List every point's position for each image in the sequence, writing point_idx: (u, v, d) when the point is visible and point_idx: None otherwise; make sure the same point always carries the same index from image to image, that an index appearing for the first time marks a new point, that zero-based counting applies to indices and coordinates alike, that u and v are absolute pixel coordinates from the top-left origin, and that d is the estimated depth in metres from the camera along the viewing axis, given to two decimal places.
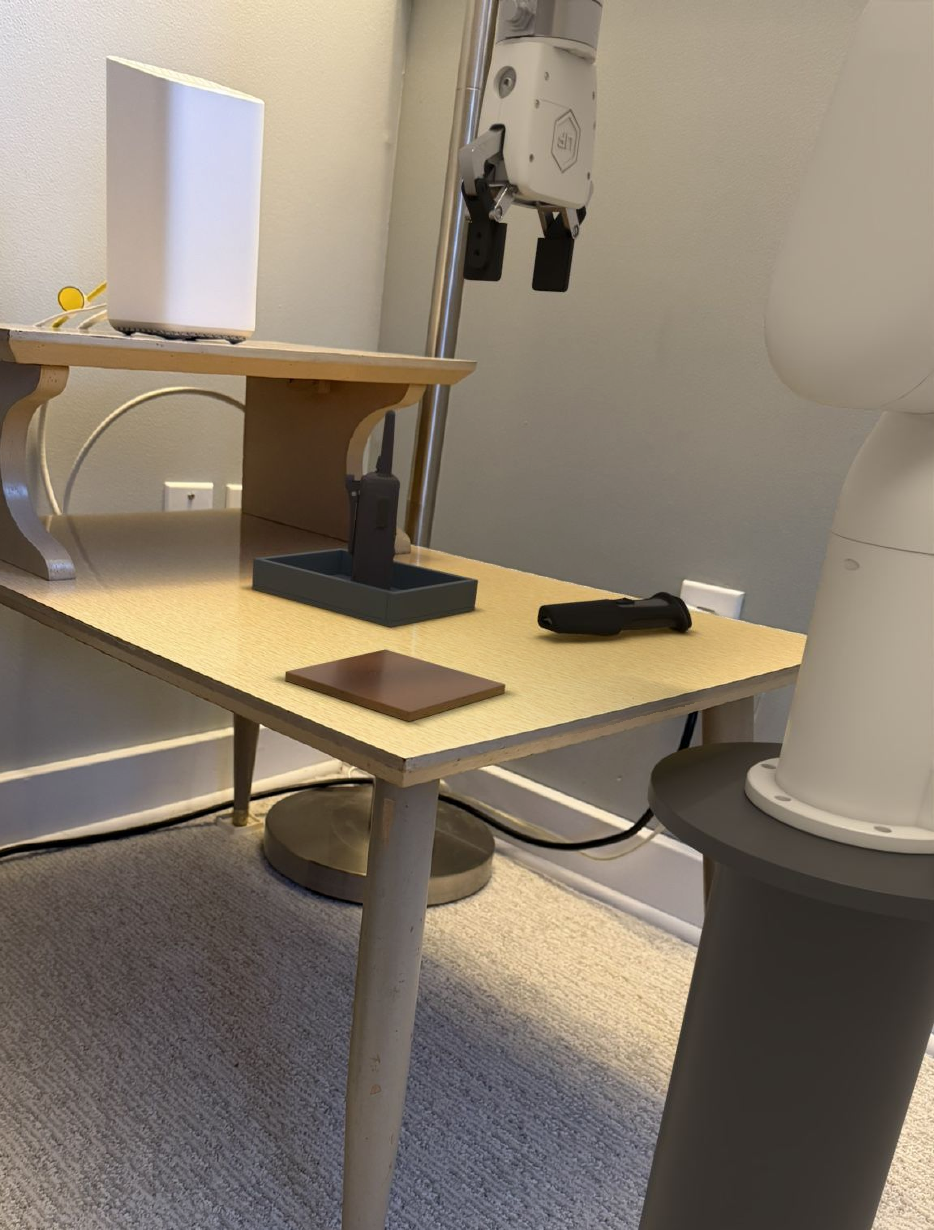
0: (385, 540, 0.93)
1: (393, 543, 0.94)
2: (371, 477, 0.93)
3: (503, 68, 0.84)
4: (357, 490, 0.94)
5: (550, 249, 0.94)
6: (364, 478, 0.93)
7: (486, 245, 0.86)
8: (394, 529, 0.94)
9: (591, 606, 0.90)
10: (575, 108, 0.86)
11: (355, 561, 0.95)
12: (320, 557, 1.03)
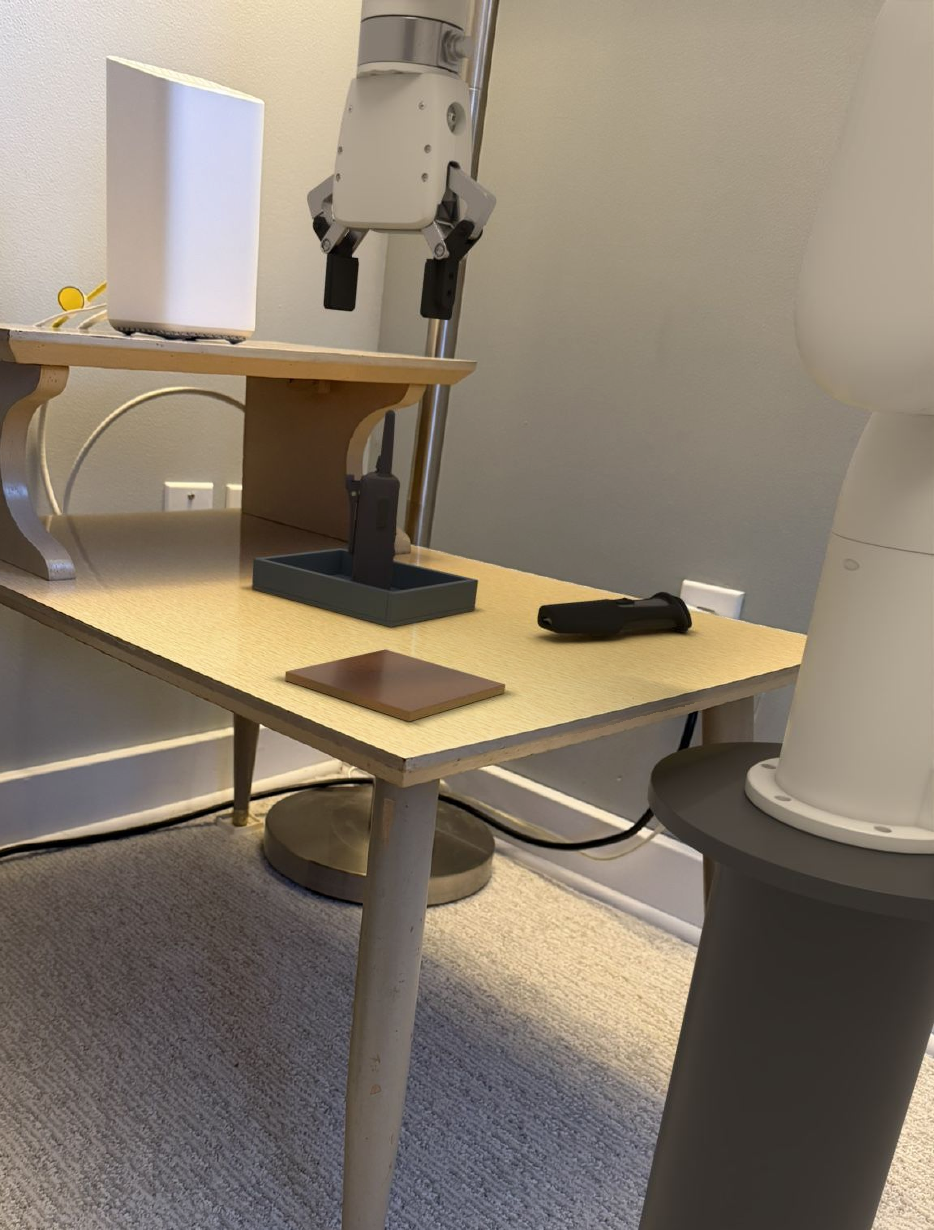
0: (385, 540, 0.93)
1: (393, 543, 0.94)
2: (371, 477, 0.93)
3: (450, 102, 0.82)
4: (357, 490, 0.94)
5: (345, 268, 0.91)
6: (364, 478, 0.93)
7: None
8: (394, 529, 0.94)
9: (591, 606, 0.90)
10: None
11: (355, 561, 0.95)
12: (320, 557, 1.03)
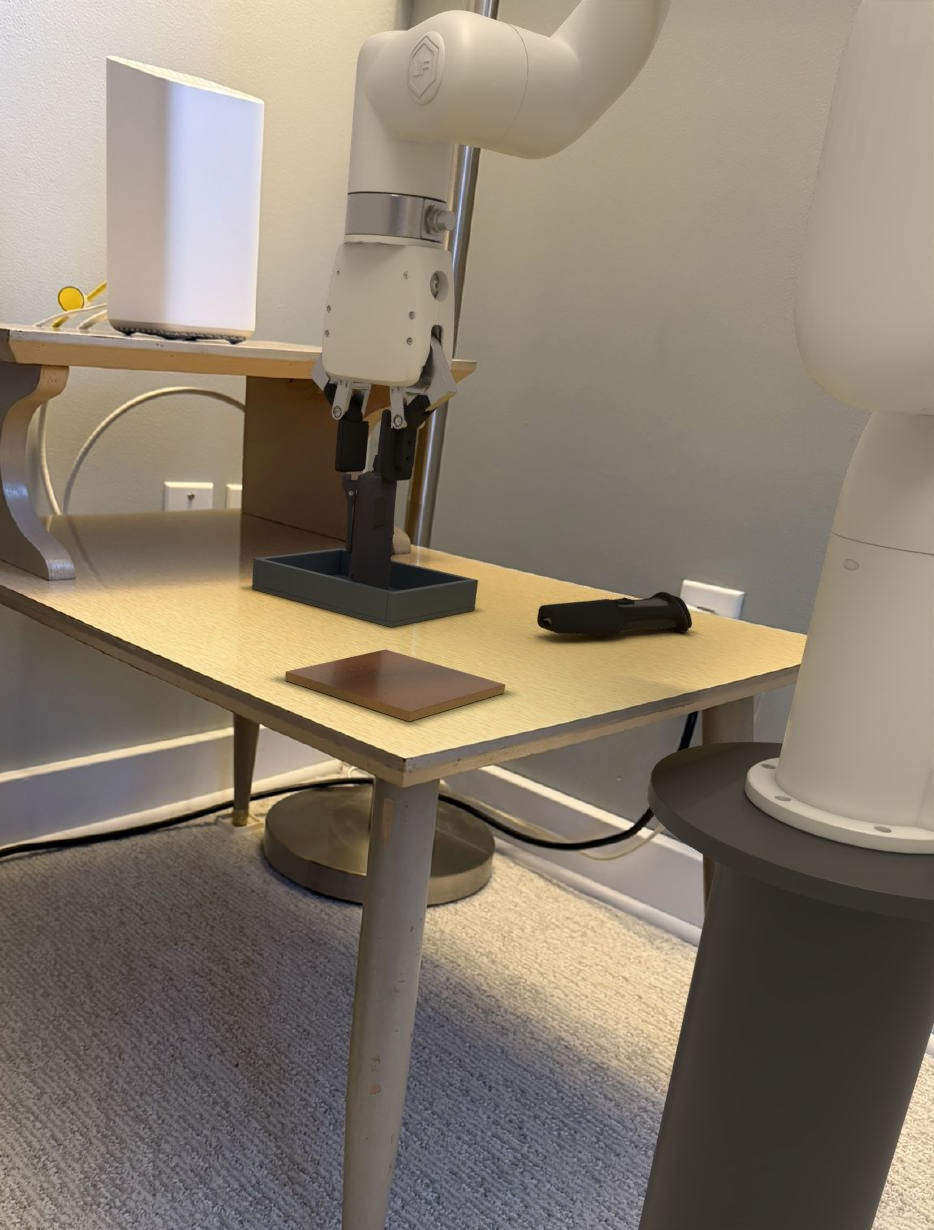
0: (383, 539, 0.94)
1: (391, 542, 0.94)
2: (368, 476, 0.93)
3: (433, 271, 0.86)
4: (354, 489, 0.94)
5: (356, 433, 0.94)
6: (361, 477, 0.93)
7: (414, 451, 0.92)
8: (391, 528, 0.94)
9: (591, 606, 0.90)
10: None
11: (353, 560, 0.95)
12: (320, 557, 1.03)
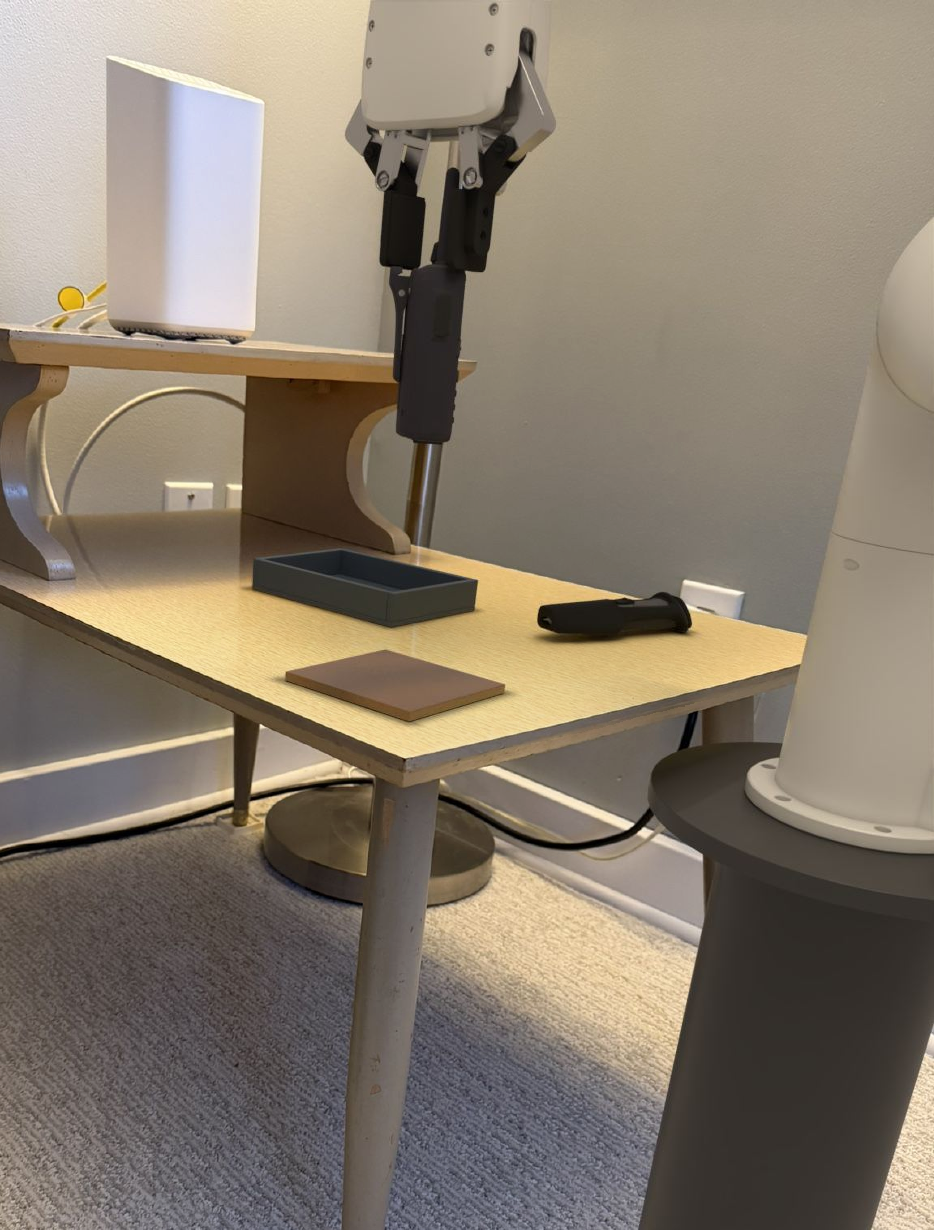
0: (446, 356, 0.68)
1: (456, 361, 0.68)
2: (426, 266, 0.67)
3: None
4: (406, 288, 0.68)
5: (408, 210, 0.68)
6: (416, 269, 0.67)
7: None
8: (458, 341, 0.68)
9: (591, 606, 0.90)
10: None
11: (404, 389, 0.69)
12: (320, 557, 1.03)
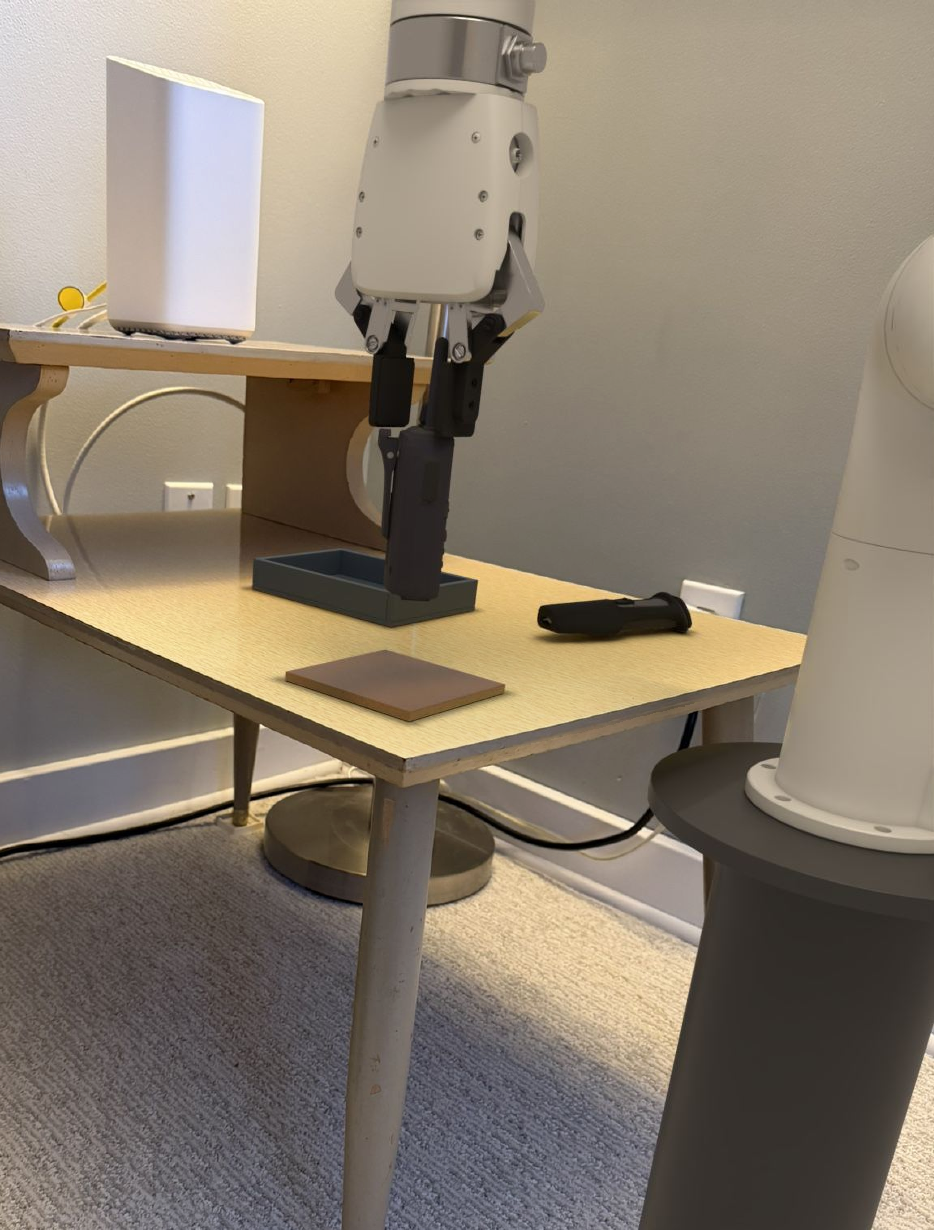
0: (434, 519, 0.68)
1: (445, 523, 0.69)
2: (415, 431, 0.67)
3: (513, 133, 0.60)
4: (395, 450, 0.68)
5: (397, 372, 0.68)
6: (405, 433, 0.68)
7: (480, 395, 0.66)
8: (446, 503, 0.68)
9: (591, 606, 0.90)
10: None
11: (392, 548, 0.69)
12: (320, 557, 1.03)
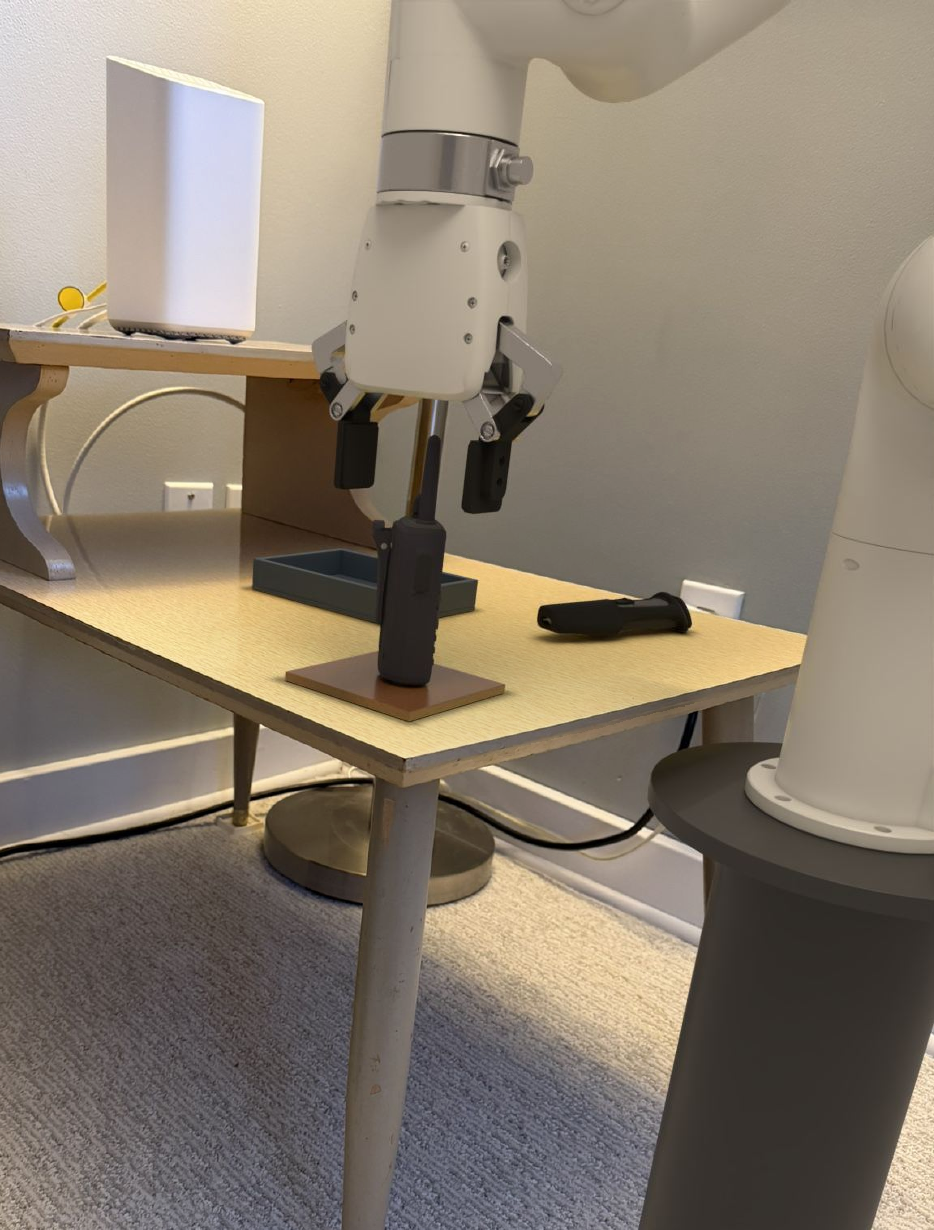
0: (426, 609, 0.70)
1: (436, 612, 0.70)
2: (408, 525, 0.69)
3: (501, 241, 0.62)
4: (388, 541, 0.70)
5: (361, 437, 0.71)
6: (398, 526, 0.69)
7: None
8: (438, 593, 0.70)
9: (591, 607, 0.90)
10: None
11: (386, 635, 0.71)
12: (320, 557, 1.03)
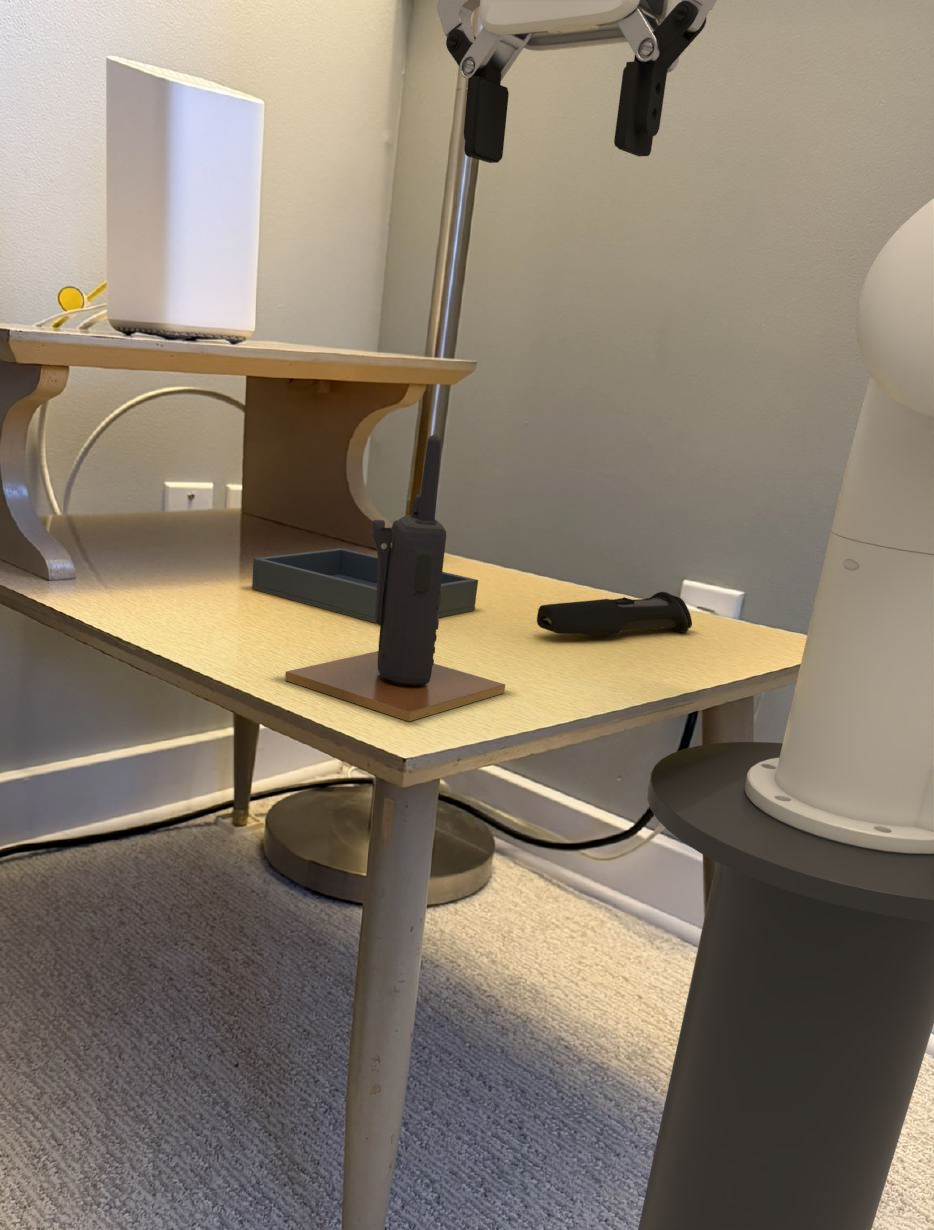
0: (426, 609, 0.70)
1: (436, 612, 0.70)
2: (408, 525, 0.69)
3: None
4: (388, 541, 0.70)
5: (493, 98, 0.67)
6: (398, 526, 0.69)
7: (662, 105, 0.62)
8: (438, 593, 0.70)
9: (591, 606, 0.90)
10: None
11: (386, 635, 0.71)
12: (320, 557, 1.03)
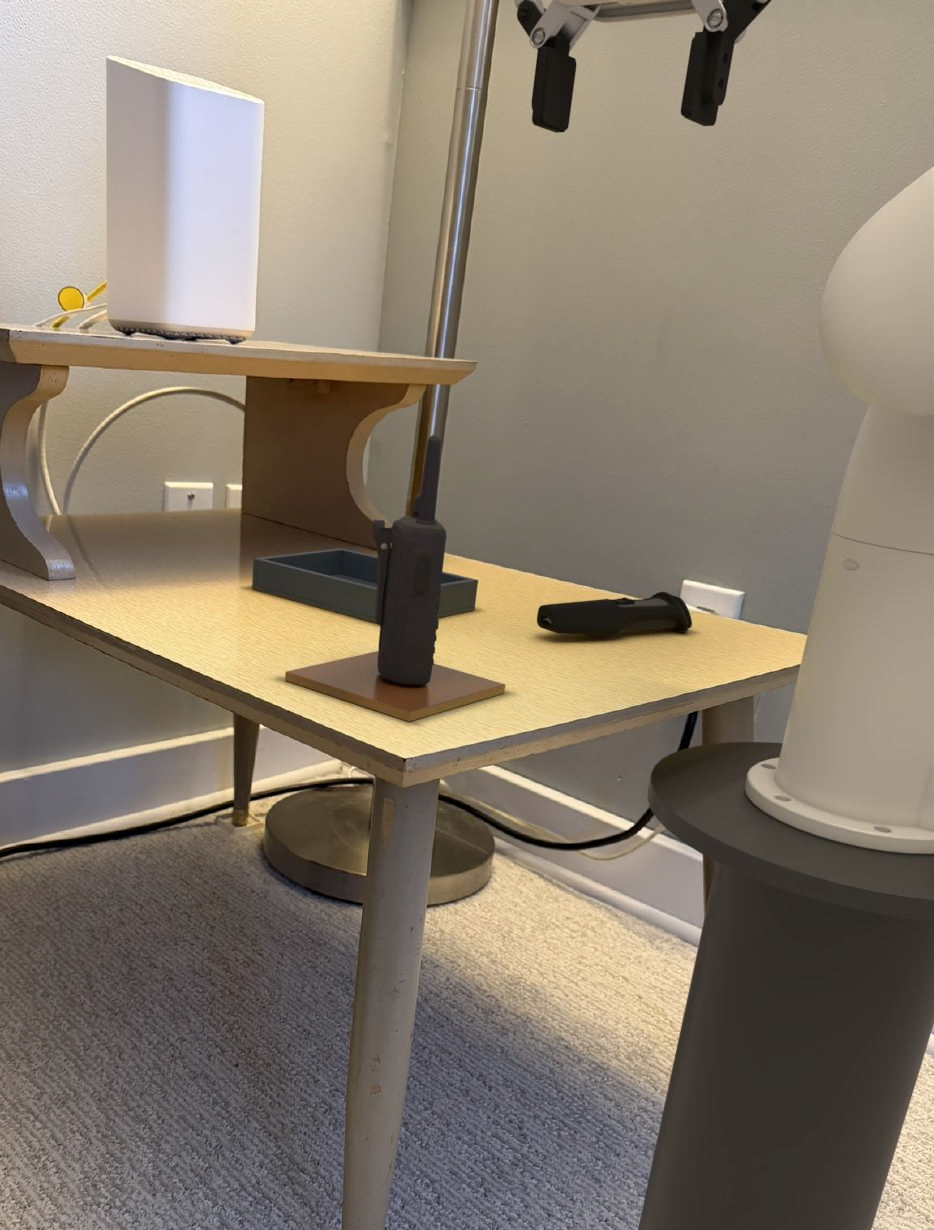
0: (426, 609, 0.70)
1: (436, 612, 0.70)
2: (408, 525, 0.69)
3: None
4: (388, 541, 0.70)
5: (561, 69, 0.69)
6: (398, 526, 0.69)
7: (728, 75, 0.64)
8: (438, 594, 0.70)
9: (591, 606, 0.90)
10: None
11: (386, 635, 0.71)
12: (320, 557, 1.03)
